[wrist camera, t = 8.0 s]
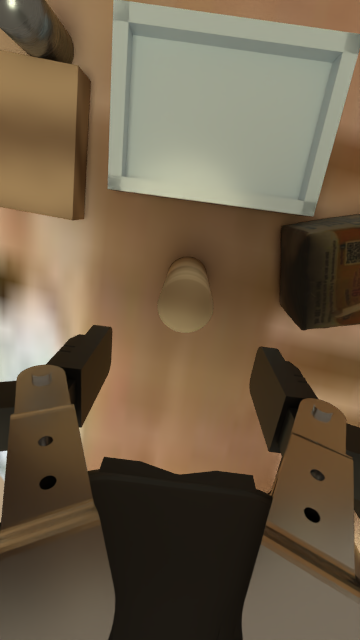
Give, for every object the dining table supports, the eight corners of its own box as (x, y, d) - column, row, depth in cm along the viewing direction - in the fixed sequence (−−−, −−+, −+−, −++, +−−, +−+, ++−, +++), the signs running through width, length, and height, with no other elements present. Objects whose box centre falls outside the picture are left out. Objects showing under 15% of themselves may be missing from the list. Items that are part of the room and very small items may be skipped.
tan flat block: (85, 218, 26) (72, 220, 23) (6, 204, 26) (-16, 203, 23) (92, 83, 22) (78, 65, 20) (1, 65, 22) (-26, 44, 19)
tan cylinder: (203, 297, 28) (208, 336, 19) (166, 292, 28) (155, 329, 19) (209, 259, 26) (217, 283, 18) (170, 254, 26) (160, 276, 18)
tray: (301, 215, 25) (313, 216, 22) (115, 190, 25) (107, 188, 22) (344, 53, 21) (363, 34, 18) (122, 22, 21) (113, -1, 18)
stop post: (73, 76, 22) (33, 31, 16) (34, 70, 22) (-20, 24, 16) (73, 24, 21) (30, -43, 15) (31, 19, 21) (-28, -51, 15)
